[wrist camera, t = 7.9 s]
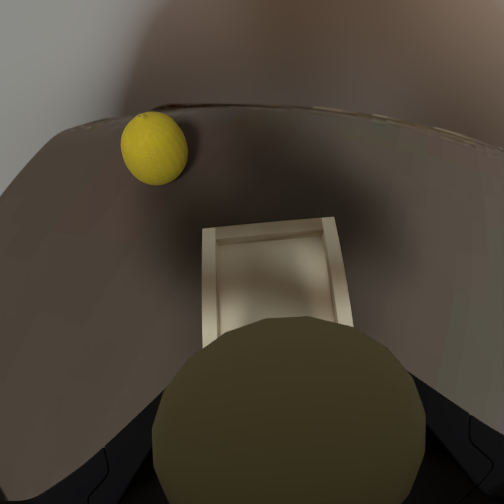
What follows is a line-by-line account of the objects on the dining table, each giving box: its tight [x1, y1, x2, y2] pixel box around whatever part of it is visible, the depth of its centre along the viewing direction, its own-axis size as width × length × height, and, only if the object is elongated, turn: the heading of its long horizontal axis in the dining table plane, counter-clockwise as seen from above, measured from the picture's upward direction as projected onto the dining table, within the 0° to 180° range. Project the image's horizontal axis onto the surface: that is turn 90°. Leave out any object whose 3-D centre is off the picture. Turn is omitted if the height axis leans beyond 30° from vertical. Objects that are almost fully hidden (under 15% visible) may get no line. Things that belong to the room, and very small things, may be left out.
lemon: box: [121, 112, 188, 185], centre depth 24 cm, size 6×6×8 cm
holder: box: [202, 217, 353, 348], centre depth 21 cm, size 10×10×2 cm
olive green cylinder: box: [152, 316, 426, 504], centre depth 8 cm, size 6×6×11 cm
